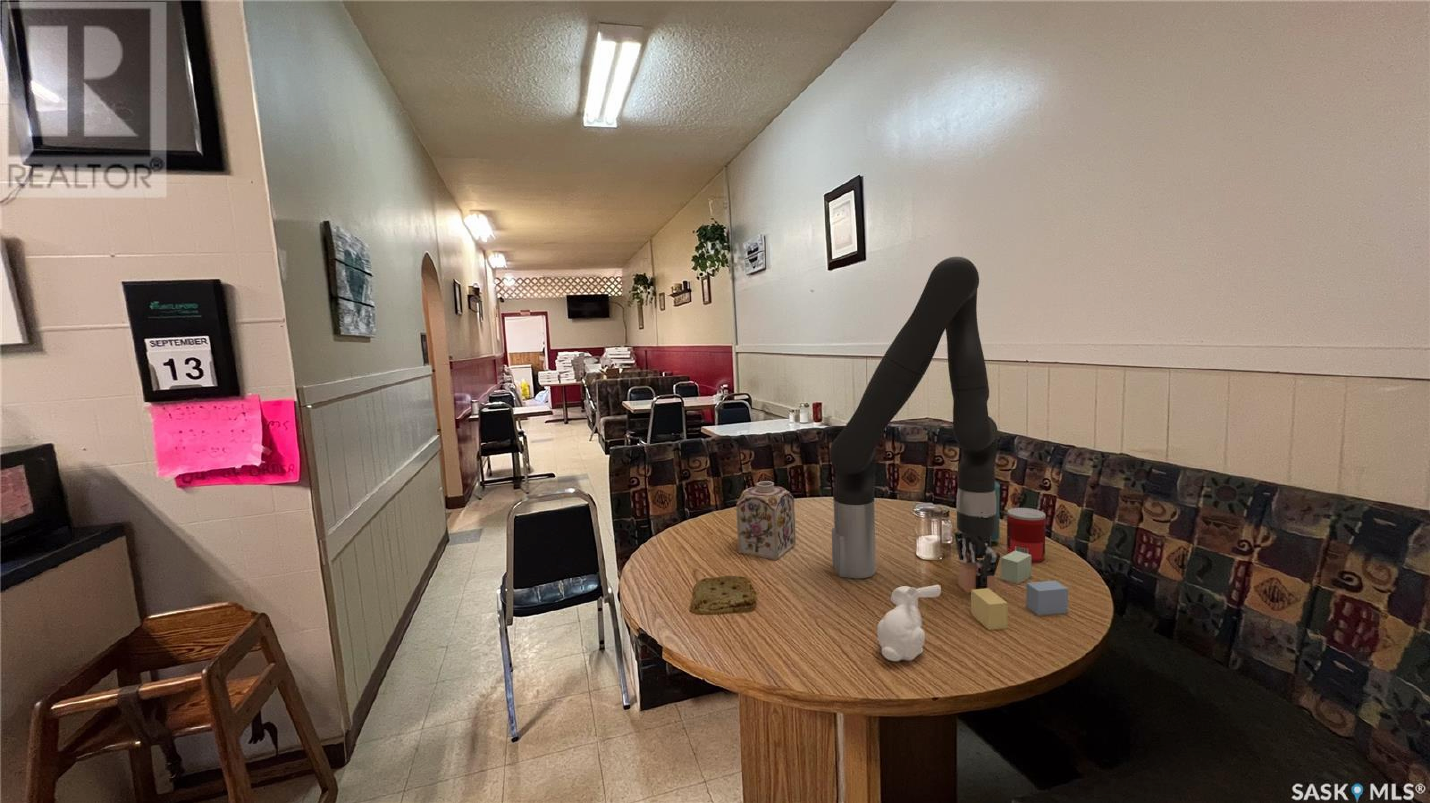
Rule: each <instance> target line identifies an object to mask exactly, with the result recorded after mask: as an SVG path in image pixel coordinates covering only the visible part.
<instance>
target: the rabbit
mask: <svg viewBox="0 0 1430 803" xmlns="http://www.w3.org/2000/svg"><path fill="white" fill-rule="evenodd" d="M941 594H942V588H941V585H939V584H934V585H930V586H922V587H919V588H916V587H914V586H913V587H910V586H904V585H903V586H899V587H896V588H895V589H894V590H893V591H892V593H891V596H890V600H891V602H892V603H893V604H894V605H895V607H894V608H893V609H891V610H888V612H886V613H885V615H884V617H883V618H882V619H880V621H879V622H878V624H877V631H876V632H877V633H876V634H877V637H878V638H877V639H878V644H879V646H880V647H881V654H882V656H883V657H884V658H885V659H886V660H888V661H892V662H900V661H901V660H903V661H913V660H914V659H916V658H917V657H918V656H919V655H920V654H922V653H924V648H923V646H924V644H925V640H926V632H925V631H924V629H923V628H922V627H923V621H922V620H923V619H922V615H921V613H920V610H919V608H918V607H919V599H918V598H937V597H939V596H940V595H941Z"/></svg>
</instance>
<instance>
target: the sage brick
mask: <svg viewBox="0 0 1430 803" xmlns="http://www.w3.org/2000/svg"><path fill="white" fill-rule="evenodd" d="M1031 577H1032V563H1031V555H1029V554H1026V553H1022V552H1019V551H1013V552H1011V553H1009V554H1008V553H1006V554H1005V555H1004V556H1003V555H1002V556H1000V579H1001V580H1002V581H1003V580H1004V581H1006V582H1009V583H1012V584H1014V585H1015V584H1016V585H1019V584H1021V583H1022V582H1024V581H1025V580H1028V579H1029V578H1031Z"/></svg>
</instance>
